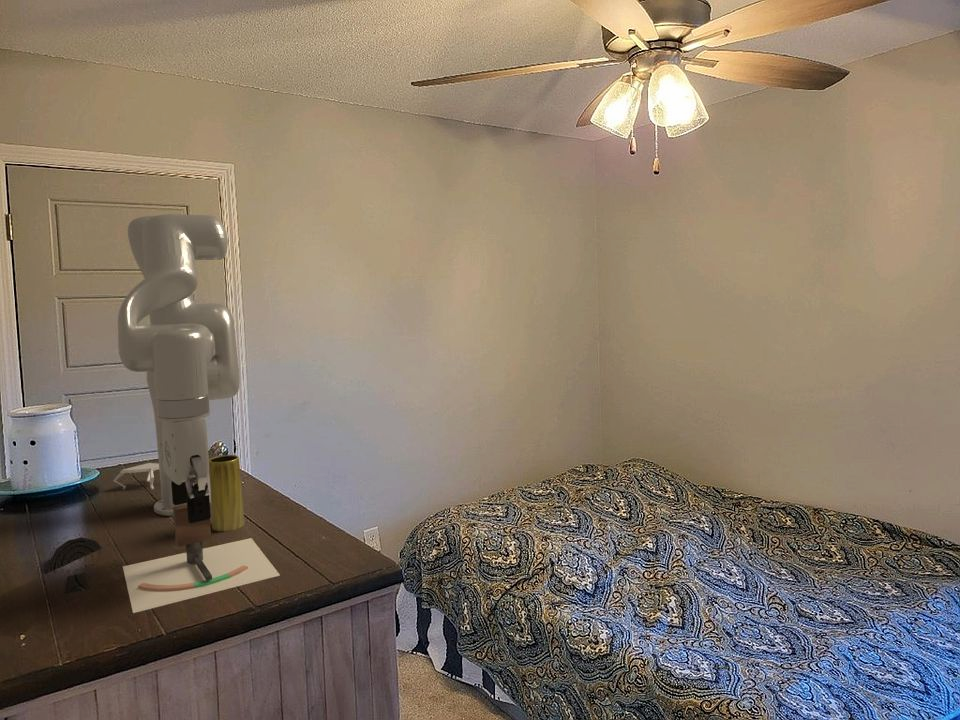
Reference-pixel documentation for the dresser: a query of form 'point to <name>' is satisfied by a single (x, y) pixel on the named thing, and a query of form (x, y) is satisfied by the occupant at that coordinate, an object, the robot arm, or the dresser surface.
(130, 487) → the dresser surface
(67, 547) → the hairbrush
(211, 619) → the dresser surface
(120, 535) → the dresser surface
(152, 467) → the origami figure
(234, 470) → the vase
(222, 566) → the board
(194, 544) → the tuner needle gauge
